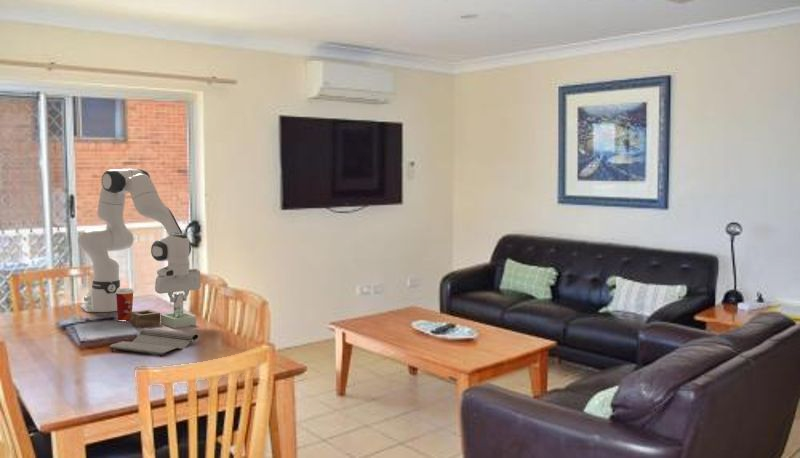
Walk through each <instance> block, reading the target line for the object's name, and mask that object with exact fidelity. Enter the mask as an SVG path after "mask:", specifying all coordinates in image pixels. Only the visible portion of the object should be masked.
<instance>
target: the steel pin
mask: <svg viewBox="0 0 800 458" xmlns="http://www.w3.org/2000/svg"><path fill="white" fill-rule="evenodd" d="M183 296H184V292H174V293H173V298H175V302H173V313H174V318H175V319H176V318H183V312H184V301H183Z"/></svg>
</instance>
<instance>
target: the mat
mask: <svg viewBox="0 0 800 458" xmlns="http://www.w3.org/2000/svg"><path fill="white" fill-rule="evenodd" d="M197 339H199V335H198V334H197V333H190V332H181V331H176V330H175V331H174V330H165V329H157V328H148V327H144V328H142V329H141V330H140V332H139V334H138V335H137V336H136V338H134V339H133V340H132V341H127V340H126V341H125V340H122V341H119V342H116V343H112V344H110V345H109V346H108V349H110V350H111V352H112V353H113V352H114V351H113V350H118V351H125V352H133V353H141V354H147V355H155V356H160V357H164V356H165V354H166V353H169V352H172V351H174V350H184V349H186V348H187V347H188V346H189V345H190V344H191V342H192V341H196V340H197Z"/></svg>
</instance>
